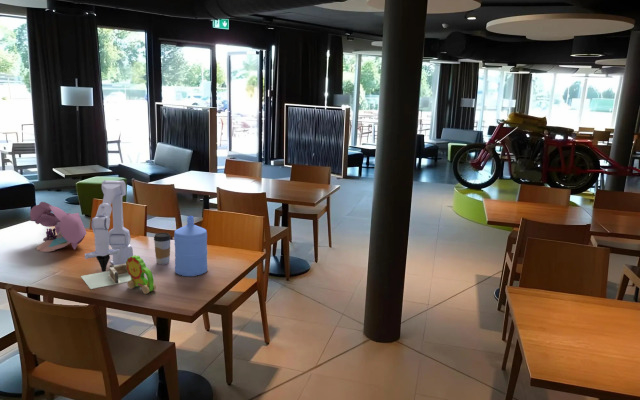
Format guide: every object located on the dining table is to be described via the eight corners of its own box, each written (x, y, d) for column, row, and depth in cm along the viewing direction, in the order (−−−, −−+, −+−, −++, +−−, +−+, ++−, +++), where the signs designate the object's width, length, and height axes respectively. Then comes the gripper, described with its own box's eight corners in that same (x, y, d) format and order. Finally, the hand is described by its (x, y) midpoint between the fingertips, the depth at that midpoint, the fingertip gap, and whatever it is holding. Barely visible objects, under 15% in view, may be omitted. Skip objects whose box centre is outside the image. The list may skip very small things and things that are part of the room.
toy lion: (157, 291, 217) (156, 259, 213) (147, 295, 212) (145, 262, 209) (133, 282, 225) (132, 251, 221) (123, 286, 220) (122, 254, 217)
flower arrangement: (22, 256, 266) (3, 208, 256) (55, 236, 287) (39, 192, 276) (72, 259, 255) (55, 209, 245) (103, 238, 276) (88, 192, 265)
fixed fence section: (134, 271, 239) (134, 261, 238) (135, 272, 238) (135, 261, 236) (109, 275, 232) (109, 265, 230) (110, 276, 230) (110, 266, 229)
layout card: (132, 266, 244) (132, 266, 244) (144, 278, 231) (144, 277, 230) (80, 276, 229) (80, 276, 229) (90, 289, 216) (90, 288, 216)
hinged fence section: (110, 275, 230) (109, 266, 229) (113, 275, 231) (113, 265, 230) (115, 283, 222) (114, 273, 221) (119, 282, 223) (118, 272, 222)
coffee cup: (174, 261, 254) (174, 234, 251) (163, 266, 246) (162, 238, 243) (162, 258, 257) (161, 231, 254) (151, 263, 250) (150, 235, 247)
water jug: (213, 272, 242) (213, 217, 236) (185, 279, 231) (183, 222, 225) (197, 263, 253) (196, 211, 246) (169, 270, 242) (167, 215, 236)
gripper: (85, 247, 212) (87, 276, 215) (120, 242, 220) (122, 271, 223) (83, 242, 217) (85, 271, 221) (117, 238, 225) (118, 266, 229)
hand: (103, 270), depth 222 cm, fingers closed
